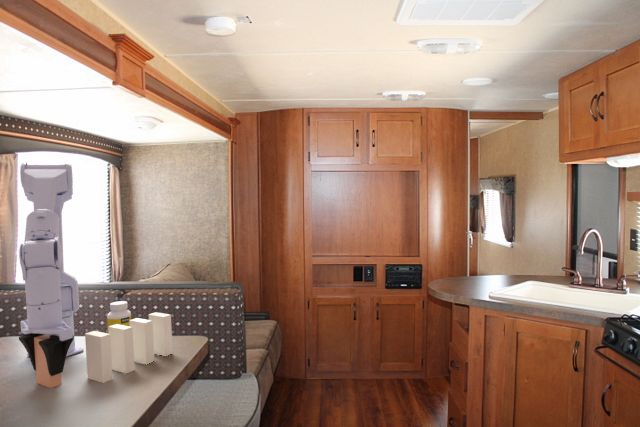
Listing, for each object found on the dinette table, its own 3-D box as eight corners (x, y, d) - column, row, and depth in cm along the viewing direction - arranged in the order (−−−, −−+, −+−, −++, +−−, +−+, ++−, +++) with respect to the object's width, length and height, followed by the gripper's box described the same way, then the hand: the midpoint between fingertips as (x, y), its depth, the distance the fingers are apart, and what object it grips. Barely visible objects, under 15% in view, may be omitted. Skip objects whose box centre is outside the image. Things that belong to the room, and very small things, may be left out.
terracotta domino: (51, 388, 85) (48, 341, 84) (36, 383, 87) (33, 337, 87) (61, 384, 86) (58, 338, 86) (47, 379, 89) (44, 334, 88)
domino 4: (165, 357, 99) (163, 317, 99) (150, 353, 102) (148, 314, 101) (172, 354, 101) (170, 314, 100) (157, 350, 103) (155, 312, 103)
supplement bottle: (123, 346, 107) (121, 305, 106) (103, 345, 108) (101, 305, 108) (136, 339, 112) (135, 300, 112) (117, 338, 113) (115, 299, 113)
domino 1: (103, 383, 86) (100, 337, 86) (87, 378, 89) (85, 333, 88) (112, 379, 88) (110, 334, 87) (97, 374, 90) (94, 330, 90)
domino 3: (146, 364, 95) (144, 323, 94) (131, 361, 97) (129, 320, 97) (154, 361, 96) (152, 320, 96) (139, 357, 99) (137, 317, 99)
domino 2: (125, 373, 90) (123, 329, 90) (110, 369, 93) (108, 326, 93) (134, 370, 92) (132, 327, 92) (119, 365, 95) (116, 323, 94)
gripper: (1, 302, 86) (6, 372, 87) (43, 311, 79) (47, 386, 79) (40, 294, 92) (44, 359, 93) (81, 301, 85) (85, 372, 85)
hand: (48, 371), depth 87 cm, fingers closed on terracotta domino, 5 cm apart
